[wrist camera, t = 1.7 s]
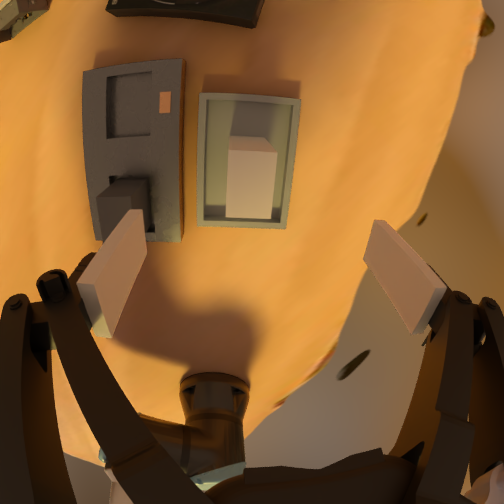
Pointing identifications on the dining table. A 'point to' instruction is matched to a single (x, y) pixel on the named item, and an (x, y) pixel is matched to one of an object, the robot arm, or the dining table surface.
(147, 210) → the seated black plug
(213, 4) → the portable cd player
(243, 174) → the plug
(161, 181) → the grey two-pocket tray
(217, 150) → the tray
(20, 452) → the robot arm
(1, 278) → the dining table surface
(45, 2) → the electrical switch
